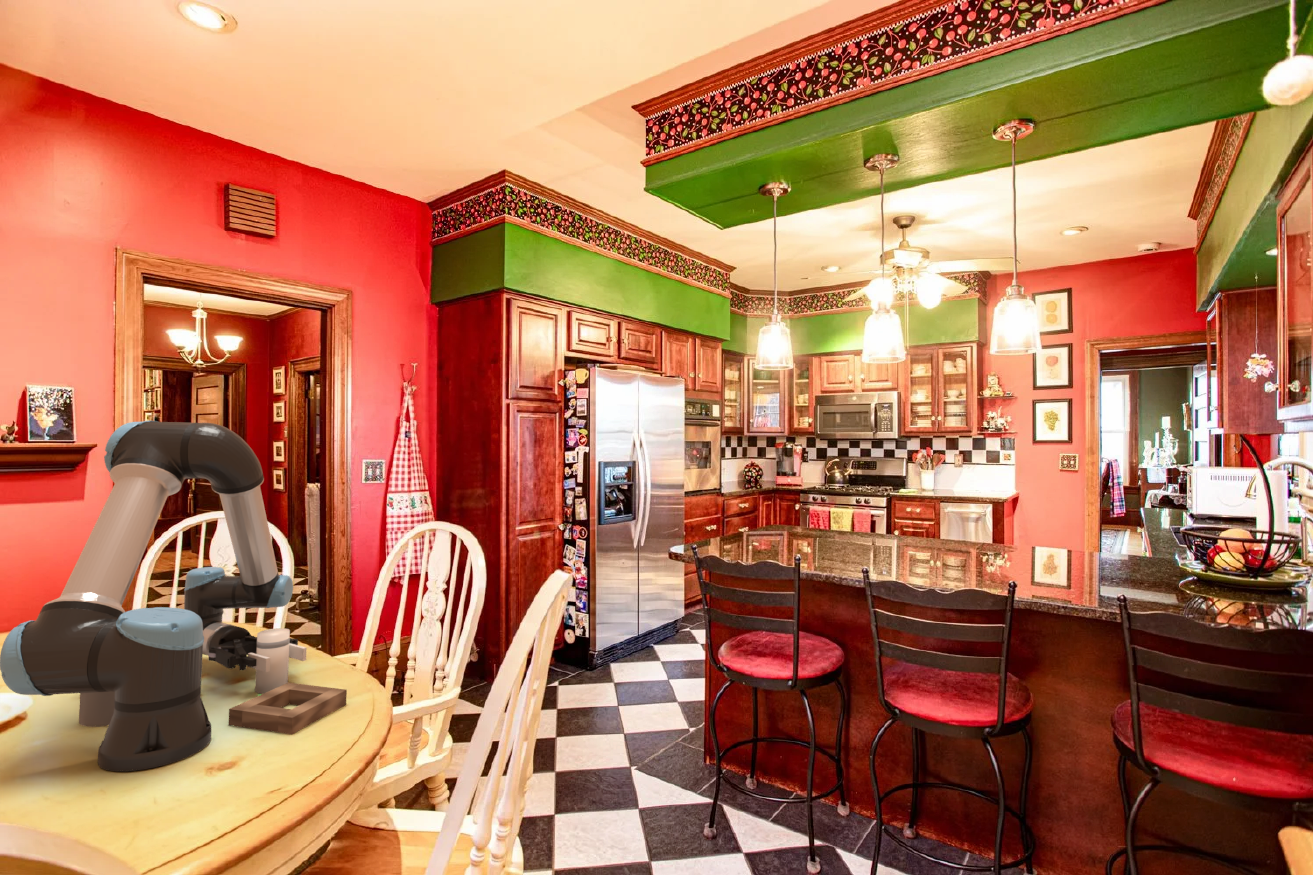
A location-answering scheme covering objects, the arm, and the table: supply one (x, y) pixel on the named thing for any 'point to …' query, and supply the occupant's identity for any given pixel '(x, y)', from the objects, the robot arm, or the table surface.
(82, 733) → the table surface
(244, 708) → the cradle
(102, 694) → the coffee mug
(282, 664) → the white cylinder
